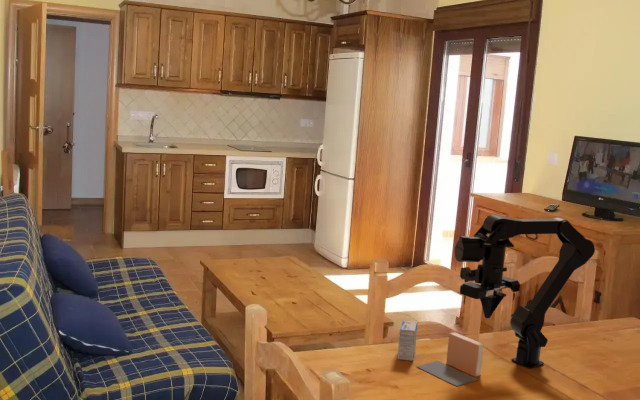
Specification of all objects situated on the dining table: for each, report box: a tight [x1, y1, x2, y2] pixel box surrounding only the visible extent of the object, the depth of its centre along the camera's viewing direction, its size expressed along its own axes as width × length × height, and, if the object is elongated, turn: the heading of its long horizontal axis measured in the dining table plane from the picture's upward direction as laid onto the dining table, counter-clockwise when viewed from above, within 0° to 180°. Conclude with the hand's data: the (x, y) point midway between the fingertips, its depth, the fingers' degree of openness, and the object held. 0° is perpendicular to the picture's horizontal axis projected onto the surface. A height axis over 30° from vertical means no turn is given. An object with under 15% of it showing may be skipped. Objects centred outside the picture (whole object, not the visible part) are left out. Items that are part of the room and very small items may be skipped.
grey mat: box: [416, 360, 478, 387], centre depth 180 cm, size 8×14×1 cm, turn 37°
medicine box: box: [397, 320, 418, 362], centre depth 190 cm, size 8×4×9 cm, turn 168°
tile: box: [446, 331, 485, 377], centre depth 183 cm, size 2×10×8 cm, turn 37°
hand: (487, 317), depth 186 cm, fingers closed
